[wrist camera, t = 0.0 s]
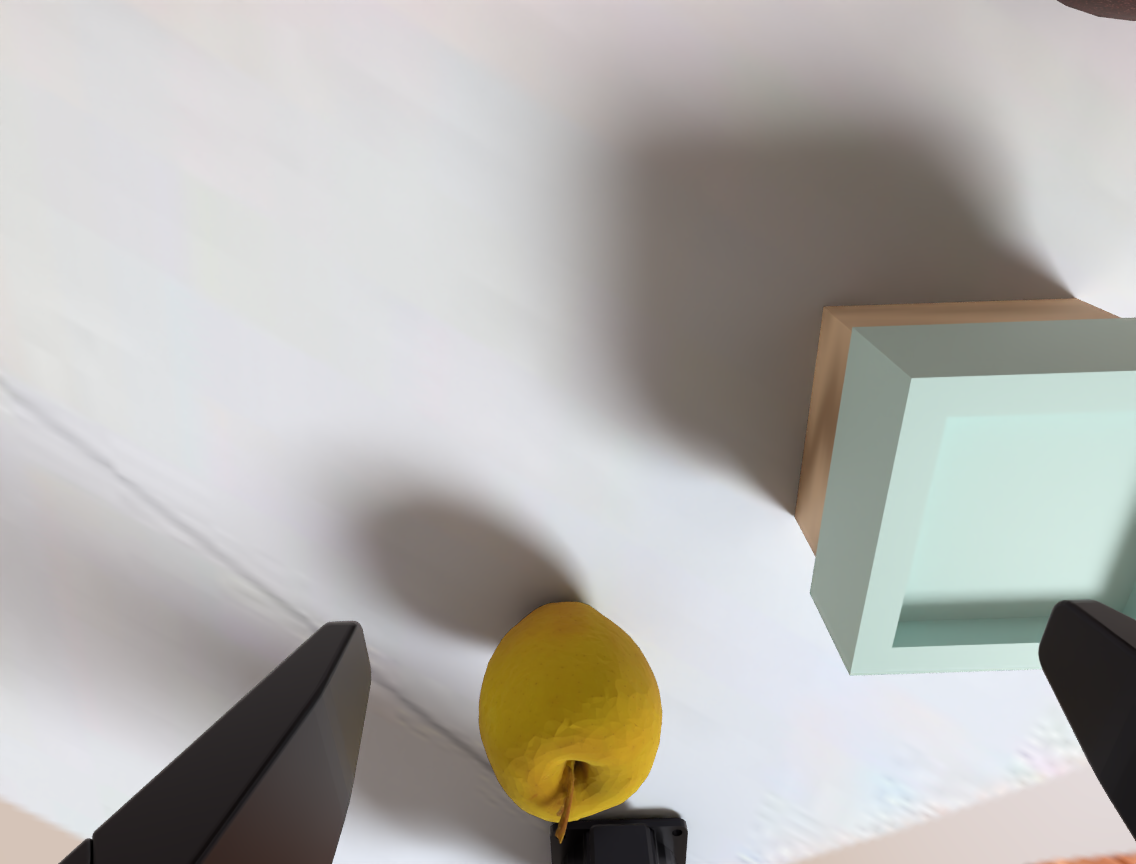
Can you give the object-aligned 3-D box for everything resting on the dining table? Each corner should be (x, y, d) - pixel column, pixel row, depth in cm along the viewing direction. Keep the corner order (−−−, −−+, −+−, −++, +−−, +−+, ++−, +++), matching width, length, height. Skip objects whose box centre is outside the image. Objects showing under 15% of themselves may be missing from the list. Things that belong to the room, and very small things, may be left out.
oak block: (1008, 506, 26) (1078, 574, 23) (792, 513, 26) (829, 582, 23) (1071, 296, 23) (1167, 338, 19) (821, 304, 23) (870, 347, 19)
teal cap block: (1087, 583, 23) (1171, 665, 20) (810, 593, 23) (850, 675, 20) (1191, 315, 19) (1317, 364, 16) (852, 327, 19) (911, 378, 16)
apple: (527, 702, 30) (517, 897, 23) (461, 594, 28) (428, 777, 20) (669, 660, 29) (704, 850, 22) (615, 543, 26) (636, 716, 19)
